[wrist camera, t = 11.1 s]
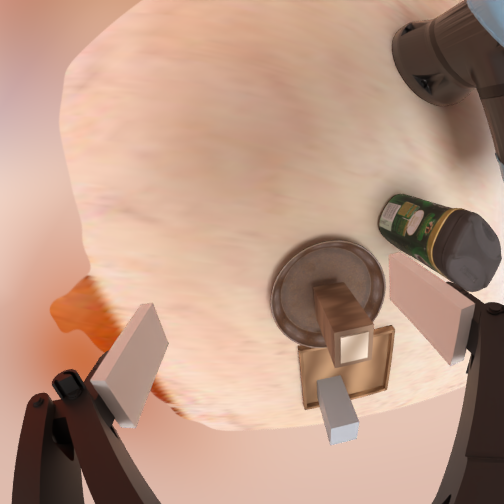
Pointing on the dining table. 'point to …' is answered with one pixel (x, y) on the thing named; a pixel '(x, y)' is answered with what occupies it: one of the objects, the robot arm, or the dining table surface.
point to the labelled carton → (343, 325)
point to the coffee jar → (443, 239)
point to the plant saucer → (318, 274)
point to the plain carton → (337, 410)
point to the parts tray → (348, 369)
